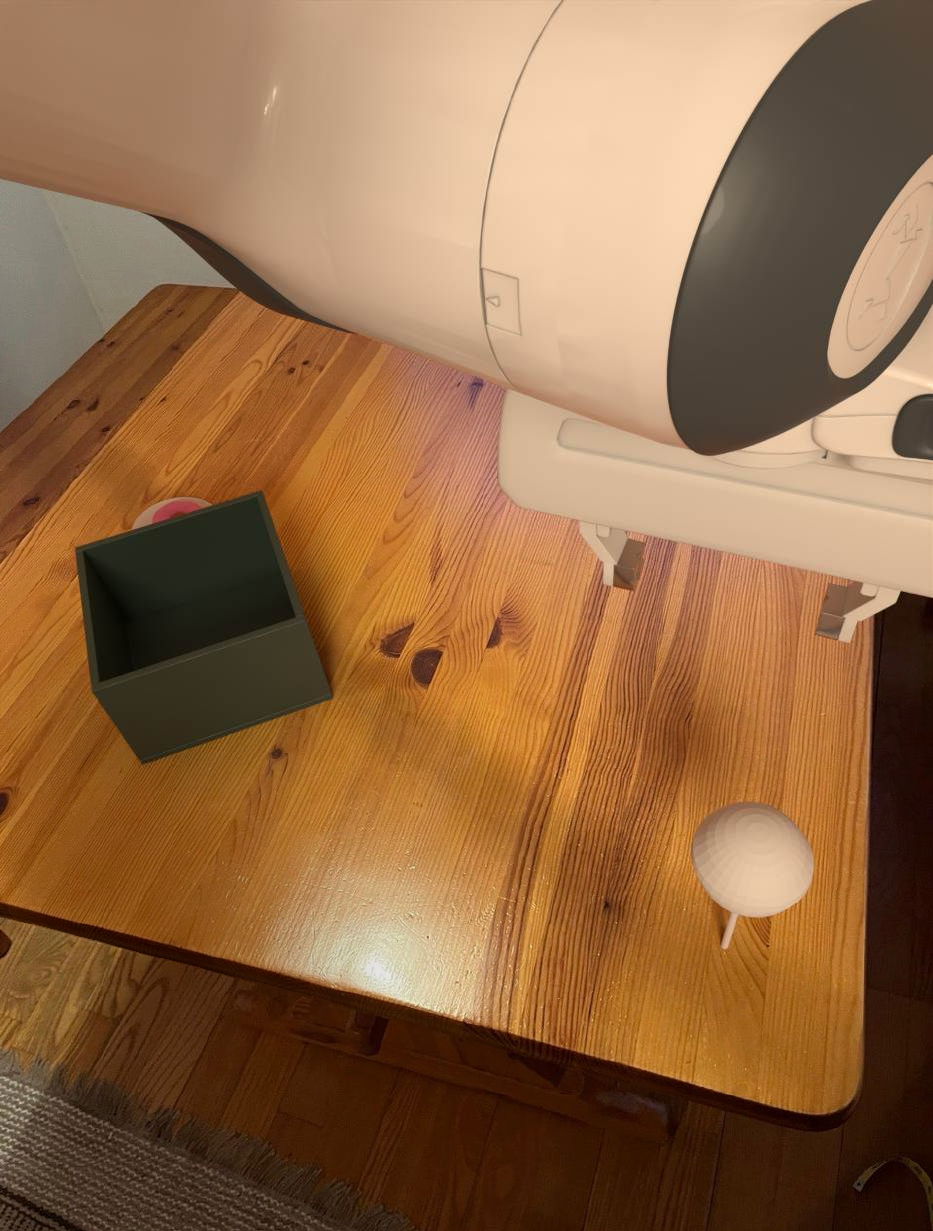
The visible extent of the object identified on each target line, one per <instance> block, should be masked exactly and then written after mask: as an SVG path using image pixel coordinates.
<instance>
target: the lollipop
mask: <svg viewBox="0 0 933 1231" xmlns="http://www.w3.org/2000/svg"><path fill="white" fill-rule="evenodd" d="M812 849H813V848H812V847H811V844H810V842H809V840H808V839H807V837H806V836H805V834H804V832H803V831H802V830H801V829H800V827H799V826H798V825H797V824H796V822H795V821H794V820H793V819H792V818H791V817H790V816H789V815H788V814H786V813H785V812H783V811H781V810H780V809H778V808H777V807H774V806H772V805H770V804H766V803H763V802H757V801H739V802H738V801H737V802H732V803H729V804H727V805H725V806H722V807H720V808H717V809H715V810H714V811H712V812H710V813H709V814H708V815H707V816H706V817H705V818H704V819H702V821H701V822H700V823H699V825H698V827H697V829H695V832H694V835H693V838H692V841H691V845H690V858H691V864H692V867H693V870H694V873H695V875H696V877H697V879H698V880H699V883H700V884H701V886H702V887H703V889H704V891H705V893H706V894H707V895H708V896H709V897H710V898H711V899H712V900H713V902H715V903H716V904H718V905H719V906H720V907H721V908H723V909H724V910H726V911H728V912H729V916H728V919H727V922H726V926H725V929H724V933H723V936H722V940H721V943H720V947H721V948H722V949H723V950H727V949H729V946H730V944H731V941H732V937H733V933H734V931H735V927H736V924H737V920H738V918H739V916H741V917H747V918H766V917H771V916H775V915H777V914H779V913H782V912H784V911H786V910H787V909H789V908H791V907H793V905H795V904H796V903H798V902H799V901H801V899H803V897H804V896H805V895H806V894H807V893H808V891H809V888H810V886H811V885H812V880H813V876H814V871H815V857H814V853H813V850H812Z"/></svg>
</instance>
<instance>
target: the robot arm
mask: <svg viewBox="0 0 933 1231" xmlns="http://www.w3.org/2000/svg"><path fill="white" fill-rule="evenodd" d="M0 180H3V181H8V182H12V183H16V184H21V185H25V186H29V187H33V188H37V189H41V190H46V191H50V192H54V193H59V194H62V195H63V194H64V195H67V196H72V197H75V198H76V197H77V198H81V199H84V200H89V201H93V202H97V203H102V204H105V205H110V206H115V207H119V208H123V209H127V210H132V211H135V212H136V211H137V212H139V213H141V214H144V215H147V216H149V217H151V218H153V219H154V220H156V221H158V222H159V223H161V224H162V225H163V226H164V227H166V228H167V229H168V230H169V231H171V232H172V233H173V234H174V235H176V236H177V237H178V238H179V239H181V241H183V242H184V243H185V244H186V245H187V246H188V247H190V249H192V250H193V251H194V252H195V253H196V254H197V255H198V256H199V257H200V258H201V259H203V261H205V262H206V263H207V264H208V265H209V266H210V267H211V268H212V269H213V270H214V271H216V272H217V273H218V274H219V275H220V276H221V277H222V278H224V279H225V280H226V281H227V282H228V283H229V284H230V285H232V286H233V287H234V288H236V289H237V290H238V291H239V292H241V294H243V295H244V296H246V297H247V298H249V299H250V300H252V301H254V302H255V303H257V304H258V305H260V306H262V307H264V308H267V309H268V310H270V311H273V312H274V313H278V314H280V315H283V316H286V317H290V318H292V319H297V320H300V321H304V322H307V323H311V324H314V325H318V326H322V327H325V328H329V329H332V330H336V331H339V332H343V333H346V334H353V335H359V336H362V337H365V338H368V339H371V340H373V341H376V342H379V343H382V344H384V345H387V346H390V347H393V348H395V349H398V350H400V351H404V352H406V353H408V354H411V355H414V356H418V357H420V358H423V359H425V360H428V361H431V362H433V363H437V364H438V365H442V366H445V367H448V368H451V369H453V370H455V371H458V372H461V373H463V374H467V375H469V376H472V377H475V378H478V379H480V380H483V381H486V382H489V383H492V384H494V385H497V386H499V387H500V388H501V390H502V391H503V392H504V393H503V399H502V404H501V409H500V417H499V424H498V433H497V445H496V446H497V447H496V448H497V449H496V451H497V452H496V453H497V454H496V476H497V484H498V487H499V488H500V491H502V492H503V494H504V495H505V496H506V497H507V499H508V500H510V502H511V503H512V504H513V505H514V506H516V507H518V508H519V509H523V510H527V511H532V512H536V513H541V514H546V515H550V516H556V517H560V518H564V519H568V520H573V521H578V533H579V534H580V536H581V537H582V539H583V540H584V541H585V542H586V544H587V545H588V546H589V548H590V549H591V550H592V552H593V553H594V555H595V557H597V559H598V560H599V561H600V562H602V585H603V586H607V587H612V588H616V589H622V590H626V591H630V592H635V591H636V589H637V587H638V580H640V579H641V576H642V574H643V570H644V566H645V565H644V564H645V558H644V556H645V553H646V542H644V541H640V540H637V539H632V538H629V536H628V534H627V533H626V532H629V533H633V534H638V535H642V536H646V537H647V536H648V537H652V538H656V539H661V540H666V541H670V542H674V543H679V544H682V545H688V546H693V547H696V548H702V549H706V550H710V551H716V552H719V553H720V552H721V553H725V554H730V555H734V556H738V557H743V558H748V559H752V560H757V561H761V562H765V563H771V564H776V565H780V566H785V567H789V568H793V569H799V570H803V571H806V572H807V571H808V572H812V573H817V574H821V575H825V576H831V577H835V578H839V579H845V580H848V581H852V583H850V584H849V585H848V586H845V585H840V584H836V583H829V582H828V583H827V585H826V589H825V593H824V596H823V600H822V603H821V606H820V610H819V614H818V617H817V623H816V626H815V631H814V636H819V637H822V638H825V639H830V640H834V641H838V642H842V643H846V644H850V643H851V641H852V638H853V636H854V633H855V630H856V627H857V624H858V622H862V621H864V620H866V619H868V618H870V617H872V616H874V615H875V614H878V613H880V612H882V611H883V610H886V609H887V608H889V607H891V606H892V605H894V604H896V603H897V601H898V598H899V596H900V594H901V592H904V593H908V594H913V595H917V596H922V597H927V598H932V599H933V0H0Z"/></svg>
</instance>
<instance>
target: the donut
mask: <svg viewBox="0 0 933 1231" xmlns="http://www.w3.org/2000/svg"><path fill="white" fill-rule="evenodd" d="M211 505H213V504H212V503H210V502H209V501H207V500H205V499H201V498H197V497H191V496H178V497H171V498H168V499H165V500H161V501H159V502H156V503H155V504H152V505H151V506H149V507H147V508H146V509H145V510H144V511H142V512H141V513H140V515H138V516H137V518H136V519H135V520H134V523H133V524H132V526H131V530H133V529H137V528H140V527H143V526H146V525H150V524H153V523H156V522H159V521H163V520H166V519H169V518H172V517H176V516H179V515H182V514H185V513H189V512H192V511H195V510H198V509H202V508H205V507H208V506H211Z"/></svg>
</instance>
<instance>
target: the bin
mask: <svg viewBox="0 0 933 1231" xmlns="http://www.w3.org/2000/svg"><path fill="white" fill-rule="evenodd" d="M271 514H272V513H271V511H270V508H269V505H268V502H267V500H266V496H265V494H264V491H263V490H262V489H260V490H256V491H253V492H250V493H247V494H244V495H241V496H238V497H234V498H230V499H228V500H224V501H221V502H218V503H215V504H212V505H211V506H208V507H205V508H202V509H198V510H195V511H192V512H189V513H185V514H182V515H179V516H176V517H172V518H169V519H166V520H163V521H159V522H156V523H153V524H150V525H146V526H143V527H140V528H137V529H133V530H132V529H131V530H127V531H124V532H121V533H117V534H114V535H110V536H107V537H105V538H101V539H98V540H95V541H92V542H88V543H85V544H83V545H78V546H75V547H74V551H75V562H76V570H77V579H78V587H79V596H80V604H81V605H80V606H81V613H82V620H83V629H84V630H83V631H84V639H85V646H86V647H85V648H86V654H87V663H88V664H87V665H88V672H89V681H90V688H91V692H92V694H93V695H94V697H95V699H96V700H97V701H98V703H99V704H100V706H101V707H102V709H103V710H104V712H105V713H106V714H107V716H108V717H109V719H110V721H111V722H112V723H113V725H114V726H115V728H116V730H117V731H118V732H119V734H120V735H121V736H122V738H123V739H124V741H125V743H126V744H127V745H128V747H129V748H130V750H131V751H132V753H133V754H134V756H135V757H136V758H137V760H138V762H139V763H140V765H142V766H143V765H146V764H149V763H151V762H154V761H157V760H161V759H163V758H167V757H169V756H172V755H175V754H178V753H180V752H183V751H186V750H189V749H192V748H194V747H197V746H201V745H204V744H206V743H210V742H213V741H214V740H218V739H220V738H224V737H226V736H229V735H232V734H235V733H238V732H241V731H243V730H246V729H249V728H253V727H255V726H259V725H260V724H264V723H267V722H269V721H272V720H276V719H278V718H281V717H282V716H287V715H289V714H292V713H295V712H299V711H300V710H303V709H304V710H305V709H306V708H309V707H312V706H315V705H317V704H321V703H324V702H326V701H330V700H333V699H334V696H333V693H332V691H331V687H330V684H329V681H328V679H327V675H326V673H325V670H324V666H323V664H322V660H321V658H320V654H319V652H318V648H317V645H316V643H315V640H314V637H313V633H312V631H311V628H310V626H309V621H308V619H307V616H306V613H305V610H304V606H303V603H302V601H301V598H300V595H299V592H298V589H297V587H296V583H295V580H294V577H293V574H292V571H291V568H290V566H289V563H288V560H287V557H286V554H285V551H284V547H283V546H282V544H281V540H280V537H279V534H278V530H277V527H276V525H275V522H274V520H273V517H272V515H271Z"/></svg>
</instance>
